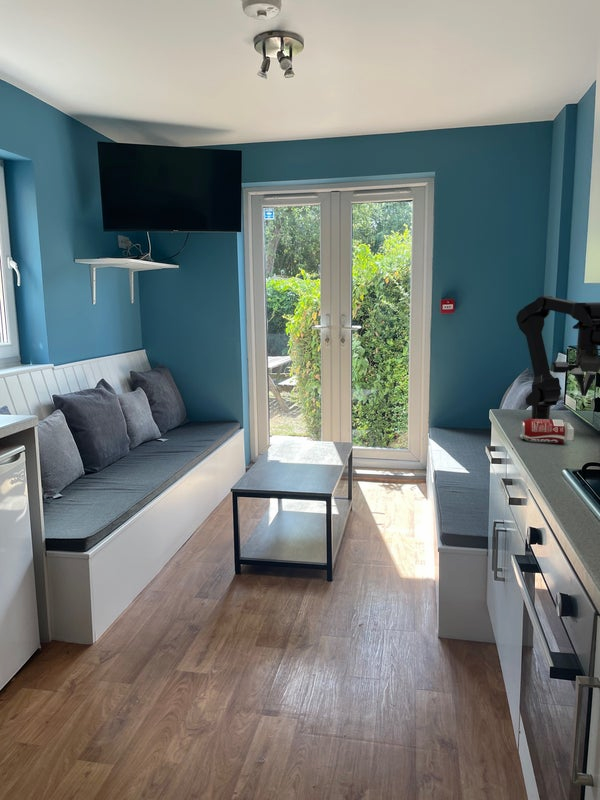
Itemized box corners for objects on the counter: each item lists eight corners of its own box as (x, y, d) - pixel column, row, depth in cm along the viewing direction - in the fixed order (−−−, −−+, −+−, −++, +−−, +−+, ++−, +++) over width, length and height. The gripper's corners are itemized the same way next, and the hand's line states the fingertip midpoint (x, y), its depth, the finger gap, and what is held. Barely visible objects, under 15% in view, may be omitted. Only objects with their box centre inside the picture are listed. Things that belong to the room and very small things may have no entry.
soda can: (565, 415, 168) (522, 413, 170) (569, 431, 163) (524, 430, 165) (561, 431, 172) (519, 429, 175) (565, 447, 167) (521, 446, 170)
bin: (526, 431, 182) (527, 420, 182) (568, 433, 179) (568, 422, 178) (529, 438, 174) (530, 426, 173) (573, 440, 171) (574, 429, 170)
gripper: (558, 346, 168) (554, 399, 171) (629, 347, 163) (624, 401, 166) (552, 343, 179) (549, 393, 181) (619, 344, 174) (614, 395, 176)
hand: (583, 395), depth 176 cm, fingers closed
